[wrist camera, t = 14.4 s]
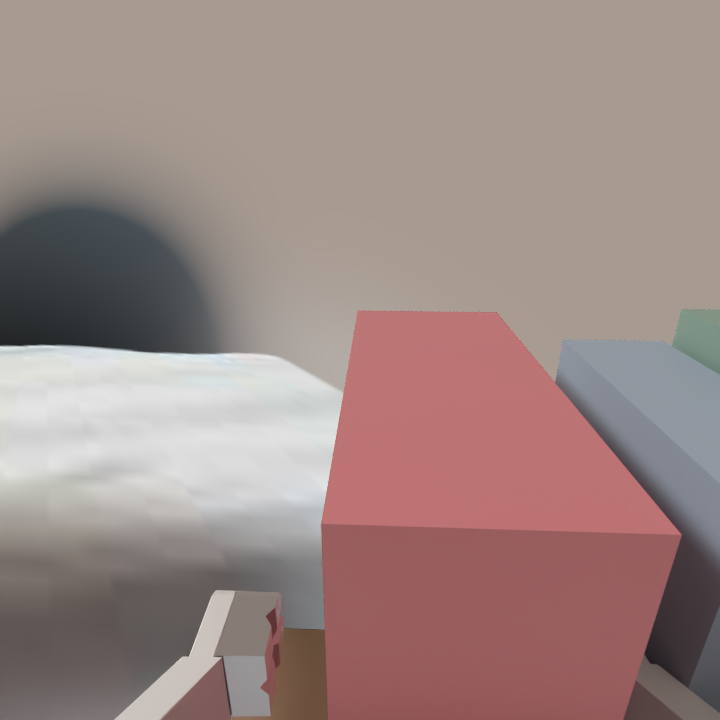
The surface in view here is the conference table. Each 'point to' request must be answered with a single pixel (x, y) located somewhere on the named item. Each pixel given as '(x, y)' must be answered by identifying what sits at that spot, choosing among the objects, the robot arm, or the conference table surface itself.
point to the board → (300, 678)
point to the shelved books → (667, 470)
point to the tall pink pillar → (479, 535)
